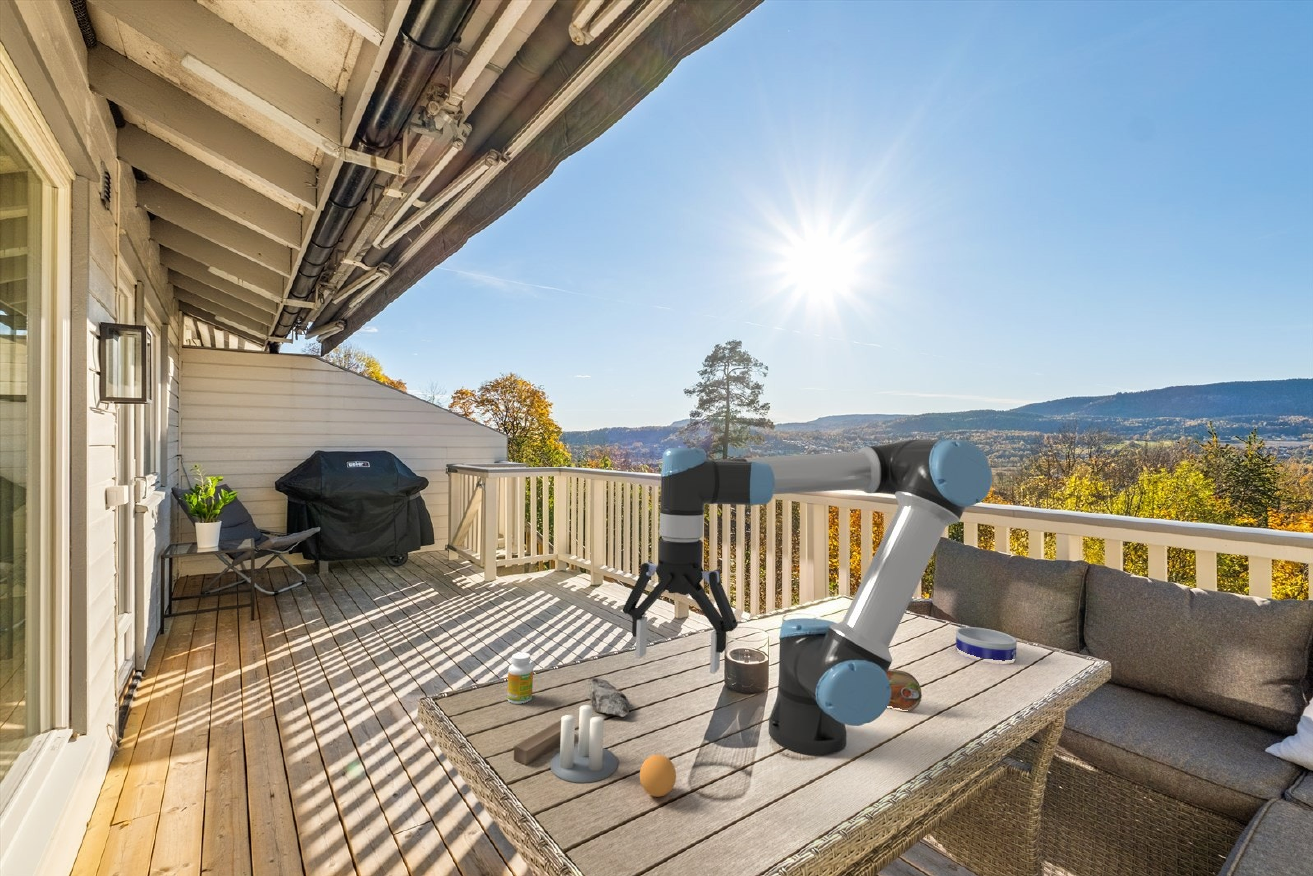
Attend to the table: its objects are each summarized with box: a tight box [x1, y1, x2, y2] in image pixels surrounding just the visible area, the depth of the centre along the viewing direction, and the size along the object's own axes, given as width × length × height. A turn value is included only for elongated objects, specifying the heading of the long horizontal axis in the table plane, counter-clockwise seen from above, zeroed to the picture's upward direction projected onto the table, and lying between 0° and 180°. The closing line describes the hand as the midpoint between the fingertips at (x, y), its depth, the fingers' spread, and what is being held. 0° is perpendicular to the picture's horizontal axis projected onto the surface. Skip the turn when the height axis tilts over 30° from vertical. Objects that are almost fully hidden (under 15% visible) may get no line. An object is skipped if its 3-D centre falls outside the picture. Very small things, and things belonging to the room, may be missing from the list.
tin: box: [886, 668, 923, 712], centre depth 133 cm, size 15×3×8 cm, turn 65°
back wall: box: [513, 719, 561, 766], centre depth 110 cm, size 3×13×2 cm, turn 147°
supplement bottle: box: [506, 652, 534, 705], centre depth 130 cm, size 5×5×10 cm
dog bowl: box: [955, 626, 1018, 661], centre depth 169 cm, size 15×15×6 cm
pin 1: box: [559, 714, 576, 769], centre depth 103 cm, size 2×2×8 cm
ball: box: [639, 754, 677, 798], centre depth 96 cm, size 6×6×6 cm
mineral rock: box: [586, 677, 630, 717], centre depth 128 cm, size 15×8×4 cm, turn 15°
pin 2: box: [577, 704, 594, 757], centre depth 108 cm, size 2×2×8 cm
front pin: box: [589, 716, 605, 771], centre depth 103 cm, size 2×2×8 cm
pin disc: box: [549, 745, 619, 784], centre depth 104 cm, size 12×12×1 cm
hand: (676, 663), depth 99 cm, fingers open, 13 cm apart
